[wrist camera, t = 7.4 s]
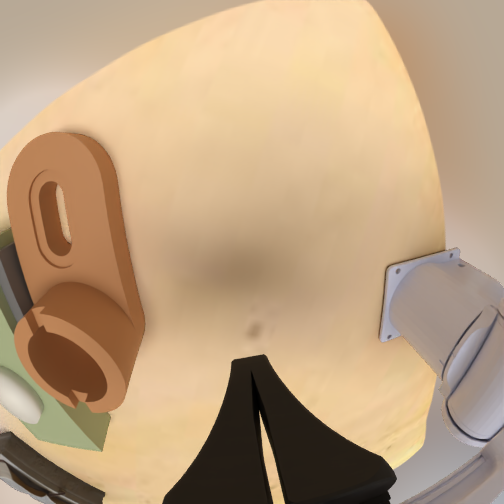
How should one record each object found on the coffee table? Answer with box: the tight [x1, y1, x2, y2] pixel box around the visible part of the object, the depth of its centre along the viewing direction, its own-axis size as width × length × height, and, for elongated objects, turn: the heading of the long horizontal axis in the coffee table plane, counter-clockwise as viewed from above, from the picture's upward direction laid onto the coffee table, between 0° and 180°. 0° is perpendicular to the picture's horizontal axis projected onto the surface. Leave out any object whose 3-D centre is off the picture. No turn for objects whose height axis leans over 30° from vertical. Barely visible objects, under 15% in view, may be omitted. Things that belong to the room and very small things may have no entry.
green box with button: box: [0, 228, 111, 452], centre depth 16 cm, size 11×22×7 cm, turn 8°
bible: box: [0, 432, 105, 504], centre depth 25 cm, size 23×27×10 cm
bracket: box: [7, 132, 145, 413], centre depth 14 cm, size 18×8×7 cm, turn 3°
